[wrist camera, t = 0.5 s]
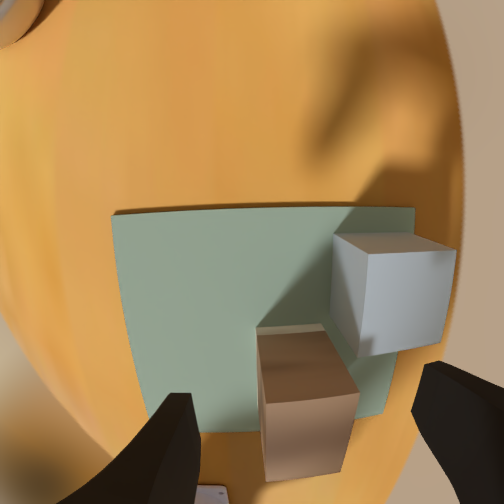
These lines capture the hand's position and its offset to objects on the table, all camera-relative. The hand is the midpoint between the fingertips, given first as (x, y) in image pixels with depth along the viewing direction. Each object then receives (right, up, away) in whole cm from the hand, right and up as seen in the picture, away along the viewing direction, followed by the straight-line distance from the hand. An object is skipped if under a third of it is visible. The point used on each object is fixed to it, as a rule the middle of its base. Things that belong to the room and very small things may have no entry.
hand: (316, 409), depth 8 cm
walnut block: (0, -3, +11) cm, 11 cm away
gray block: (+5, +3, +10) cm, 12 cm away
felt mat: (-1, -1, +11) cm, 11 cm away
